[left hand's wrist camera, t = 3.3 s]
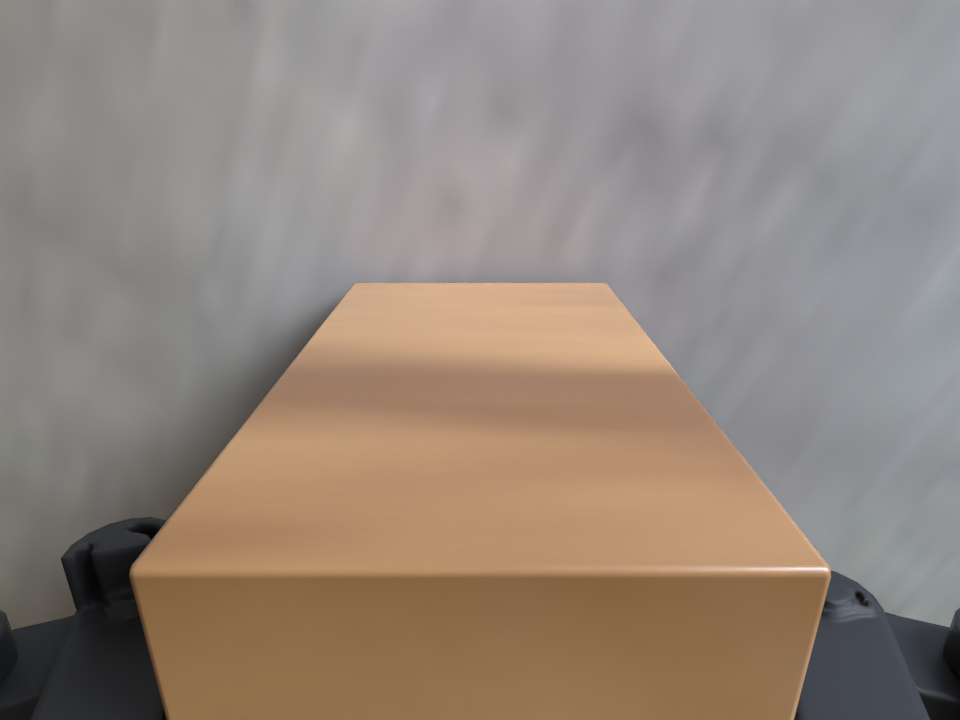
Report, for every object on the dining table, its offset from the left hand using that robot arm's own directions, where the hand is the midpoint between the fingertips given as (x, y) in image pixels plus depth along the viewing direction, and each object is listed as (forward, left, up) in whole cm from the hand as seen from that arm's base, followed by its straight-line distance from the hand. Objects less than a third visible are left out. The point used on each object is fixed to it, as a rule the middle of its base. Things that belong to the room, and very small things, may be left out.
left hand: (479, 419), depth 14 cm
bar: (+10, +3, -1) cm, 10 cm away
